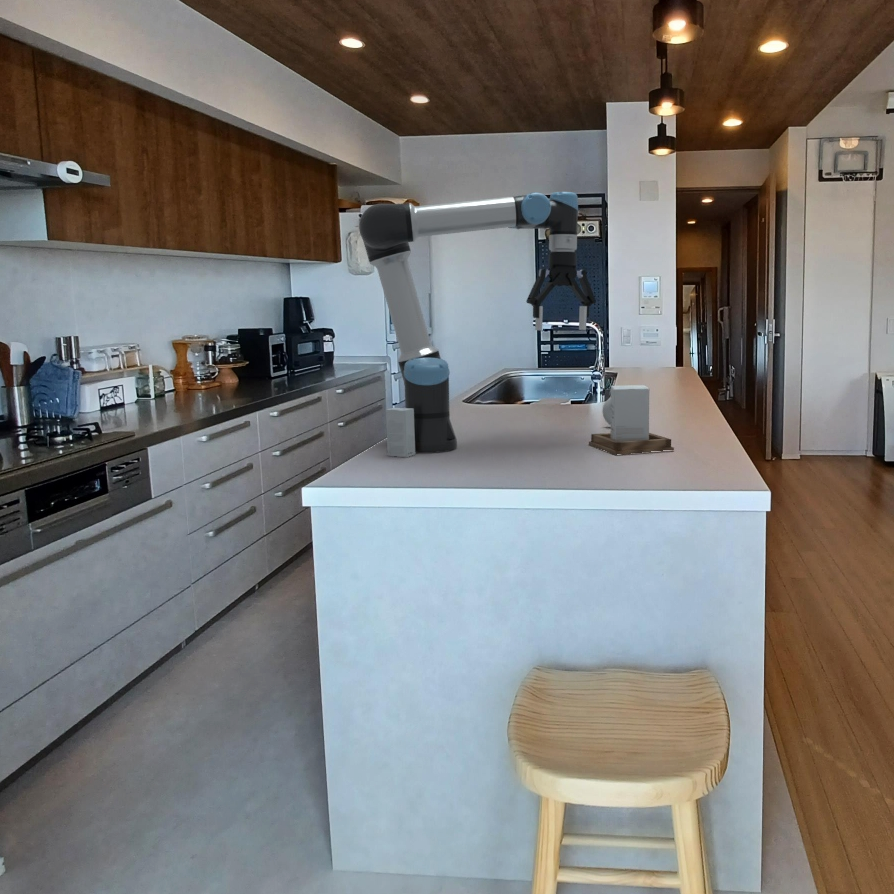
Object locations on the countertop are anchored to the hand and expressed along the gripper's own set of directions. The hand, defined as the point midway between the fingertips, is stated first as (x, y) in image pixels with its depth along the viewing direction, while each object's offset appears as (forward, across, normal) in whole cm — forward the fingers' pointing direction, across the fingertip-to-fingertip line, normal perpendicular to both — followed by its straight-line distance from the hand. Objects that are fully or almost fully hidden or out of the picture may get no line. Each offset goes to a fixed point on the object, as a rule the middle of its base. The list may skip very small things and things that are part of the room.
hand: (560, 330), depth 238 cm
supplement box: (+29, +7, -25) cm, 39 cm away
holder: (+29, +7, -25) cm, 39 cm away
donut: (+29, +24, +6) cm, 38 cm away
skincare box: (+31, -49, -8) cm, 59 cm away
